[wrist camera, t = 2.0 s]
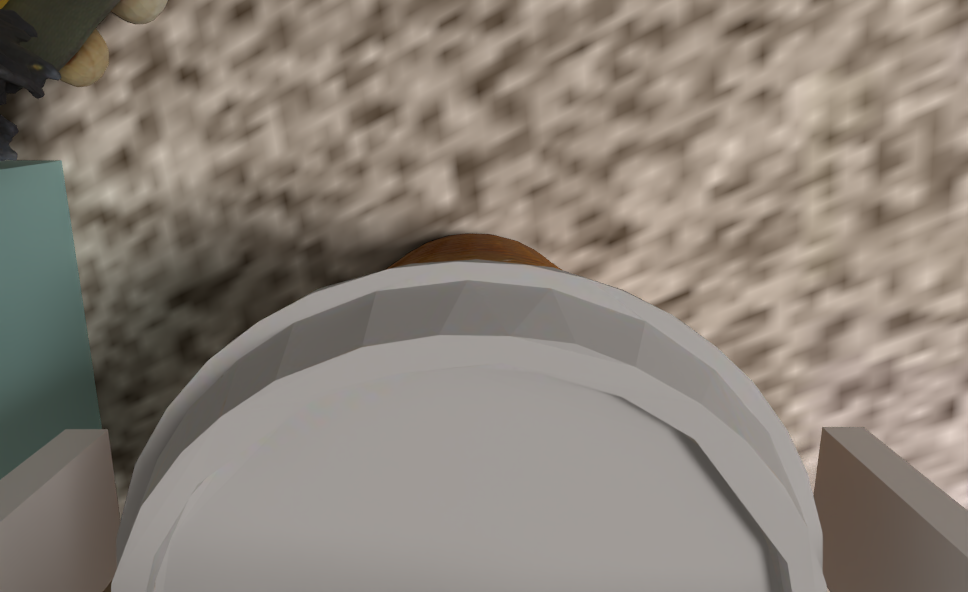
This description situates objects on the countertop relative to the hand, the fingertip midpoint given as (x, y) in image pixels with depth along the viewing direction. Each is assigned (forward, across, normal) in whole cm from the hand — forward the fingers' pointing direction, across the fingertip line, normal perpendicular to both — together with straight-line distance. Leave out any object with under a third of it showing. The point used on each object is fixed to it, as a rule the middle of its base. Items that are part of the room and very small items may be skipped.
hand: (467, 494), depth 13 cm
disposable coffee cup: (+7, 0, +1) cm, 7 cm away
